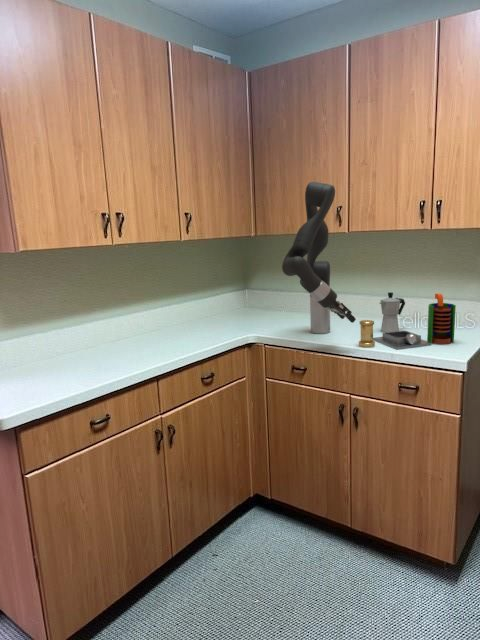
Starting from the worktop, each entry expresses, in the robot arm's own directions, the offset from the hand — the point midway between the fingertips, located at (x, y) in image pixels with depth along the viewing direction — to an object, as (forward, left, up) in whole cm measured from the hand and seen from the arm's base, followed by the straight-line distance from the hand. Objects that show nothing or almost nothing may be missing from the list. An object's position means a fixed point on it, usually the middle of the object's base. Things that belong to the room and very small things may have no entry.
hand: (348, 319), depth 197 cm
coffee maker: (-19, +32, -12) cm, 39 cm away
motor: (+8, +37, -12) cm, 40 cm away
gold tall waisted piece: (0, +8, -12) cm, 14 cm away
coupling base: (+2, +23, -12) cm, 26 cm away
